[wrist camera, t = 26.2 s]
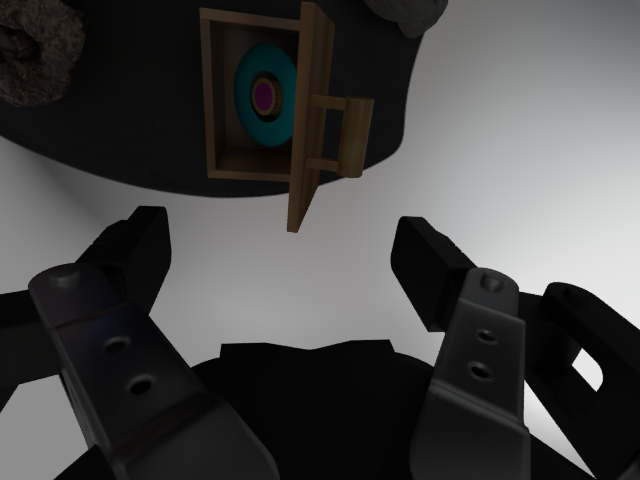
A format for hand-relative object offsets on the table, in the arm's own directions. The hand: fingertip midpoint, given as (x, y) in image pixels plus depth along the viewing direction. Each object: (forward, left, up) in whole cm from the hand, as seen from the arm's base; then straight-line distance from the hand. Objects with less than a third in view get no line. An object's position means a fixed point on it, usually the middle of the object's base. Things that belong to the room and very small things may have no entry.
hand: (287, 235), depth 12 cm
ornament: (-1, -4, -32) cm, 32 cm away
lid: (+2, +1, -17) cm, 18 cm away
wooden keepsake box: (-1, +1, -34) cm, 34 cm away
